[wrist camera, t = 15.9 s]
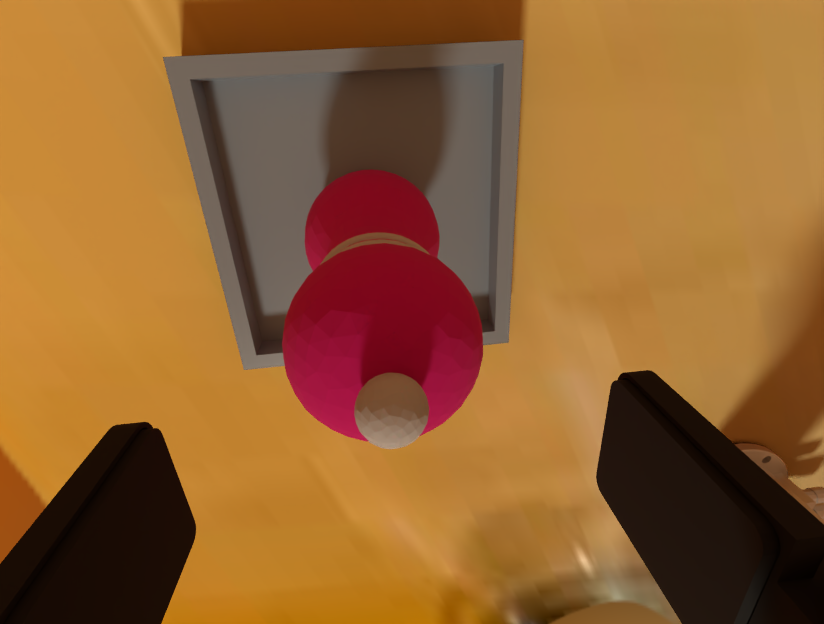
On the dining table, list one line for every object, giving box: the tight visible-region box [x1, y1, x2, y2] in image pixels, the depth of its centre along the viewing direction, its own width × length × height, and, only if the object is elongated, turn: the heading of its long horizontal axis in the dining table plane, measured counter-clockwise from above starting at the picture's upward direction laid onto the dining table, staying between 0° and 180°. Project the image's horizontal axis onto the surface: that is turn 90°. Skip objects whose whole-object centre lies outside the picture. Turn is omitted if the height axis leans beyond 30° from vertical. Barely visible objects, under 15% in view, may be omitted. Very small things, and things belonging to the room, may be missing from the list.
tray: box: [163, 40, 523, 370], centre depth 27 cm, size 18×18×2 cm
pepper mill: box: [282, 170, 483, 449], centre depth 19 cm, size 7×7×20 cm
